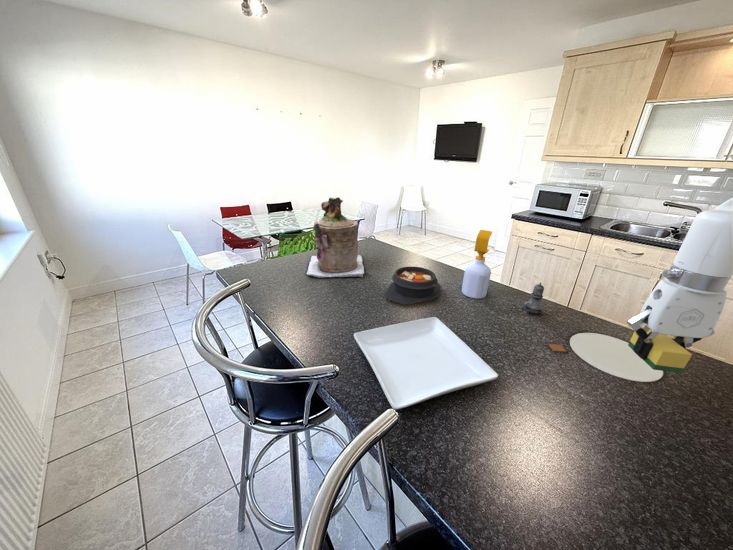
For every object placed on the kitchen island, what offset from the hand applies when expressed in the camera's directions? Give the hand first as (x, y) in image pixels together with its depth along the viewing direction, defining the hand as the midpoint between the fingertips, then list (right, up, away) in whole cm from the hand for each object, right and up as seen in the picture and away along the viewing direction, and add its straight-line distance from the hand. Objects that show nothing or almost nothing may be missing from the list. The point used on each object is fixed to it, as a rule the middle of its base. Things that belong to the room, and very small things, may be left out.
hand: (654, 356), depth 62 cm
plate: (+6, -5, +18) cm, 20 cm away
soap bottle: (-19, +10, +51) cm, 56 cm away
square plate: (-47, -6, +14) cm, 50 cm away
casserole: (-43, +10, +50) cm, 67 cm away
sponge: (0, -1, 0) cm, 1 cm away
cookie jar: (-74, +20, +72) cm, 105 cm away
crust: (-8, -4, +20) cm, 22 cm away
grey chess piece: (-5, +4, +38) cm, 38 cm away
